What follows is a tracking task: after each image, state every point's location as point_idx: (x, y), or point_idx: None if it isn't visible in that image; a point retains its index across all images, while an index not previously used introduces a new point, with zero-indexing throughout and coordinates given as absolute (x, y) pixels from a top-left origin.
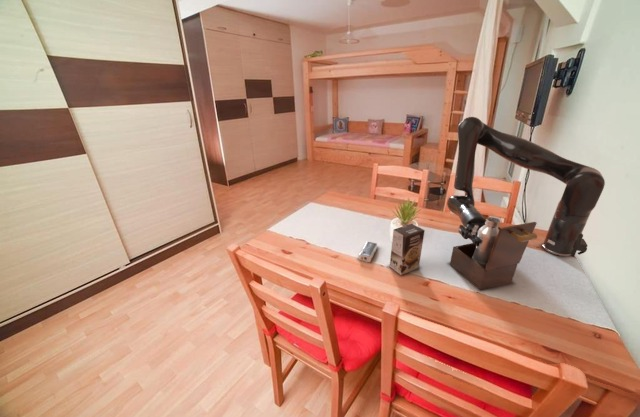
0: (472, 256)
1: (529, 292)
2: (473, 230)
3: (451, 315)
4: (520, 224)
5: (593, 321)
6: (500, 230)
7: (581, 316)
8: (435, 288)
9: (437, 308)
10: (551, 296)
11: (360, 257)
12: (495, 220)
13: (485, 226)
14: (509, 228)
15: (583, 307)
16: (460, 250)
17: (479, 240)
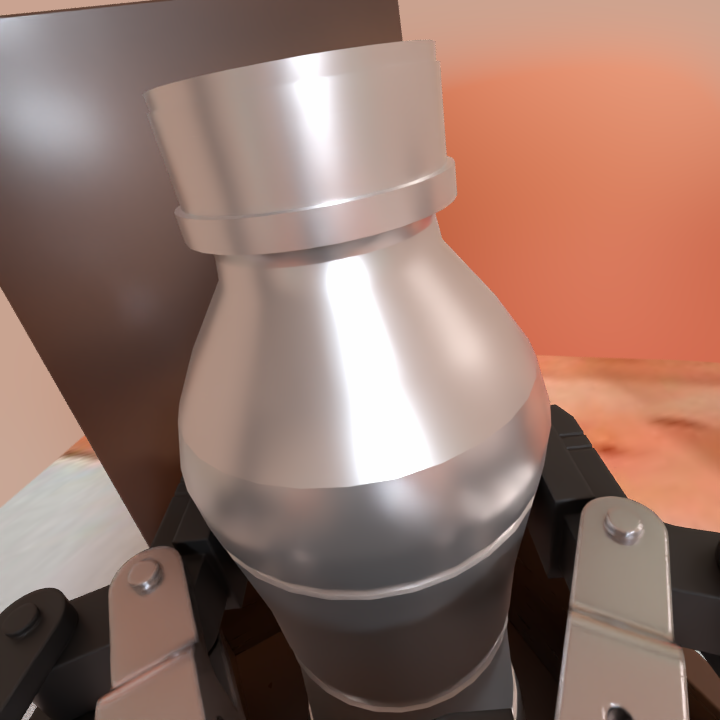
0: (517, 714)
1: None
2: (652, 633)
3: (577, 377)
4: (130, 3)
5: (75, 472)
6: (391, 5)
7: (91, 484)
8: (706, 486)
9: (639, 388)
10: (85, 577)
11: None
12: (191, 163)
13: (443, 241)
14: (299, 3)
15: (19, 535)
16: (702, 688)
17: None
